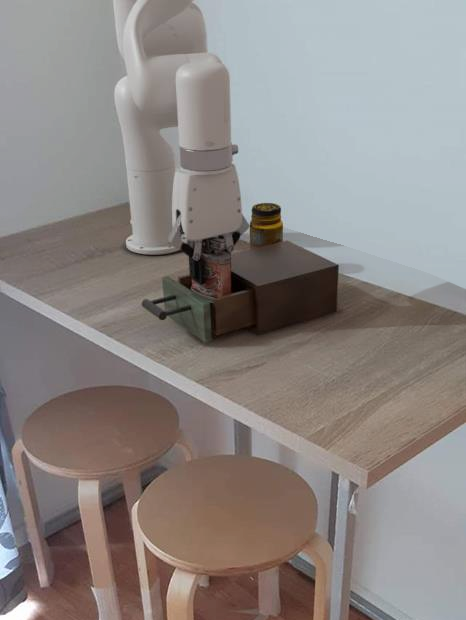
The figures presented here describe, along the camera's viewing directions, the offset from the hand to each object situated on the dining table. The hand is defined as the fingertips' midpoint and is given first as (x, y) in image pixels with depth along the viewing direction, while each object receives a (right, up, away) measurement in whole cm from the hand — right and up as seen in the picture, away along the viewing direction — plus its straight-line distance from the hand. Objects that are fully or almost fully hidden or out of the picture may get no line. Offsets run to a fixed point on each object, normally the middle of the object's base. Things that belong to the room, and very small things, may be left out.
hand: (210, 277), depth 130 cm
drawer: (-1, -6, +3) cm, 7 cm away
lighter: (0, -3, +2) cm, 3 cm away
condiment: (+9, +6, +23) cm, 26 cm away
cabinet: (+10, -3, +9) cm, 14 cm away
